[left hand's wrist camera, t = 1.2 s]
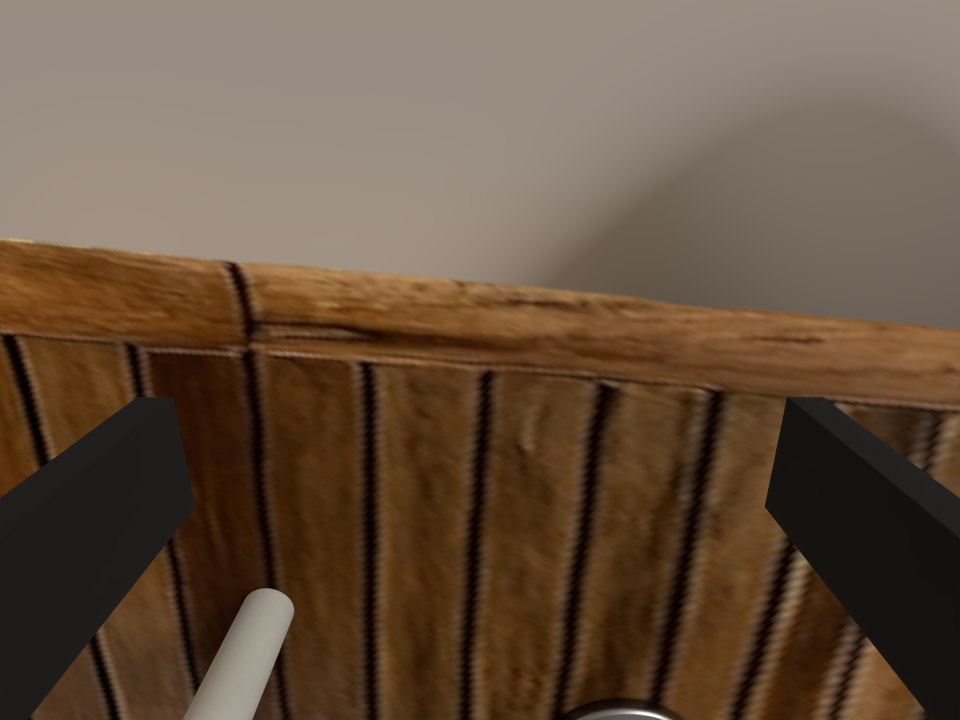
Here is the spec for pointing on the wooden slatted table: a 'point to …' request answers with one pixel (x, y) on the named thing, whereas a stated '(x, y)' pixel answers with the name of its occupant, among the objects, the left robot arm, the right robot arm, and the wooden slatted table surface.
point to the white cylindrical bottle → (244, 659)
